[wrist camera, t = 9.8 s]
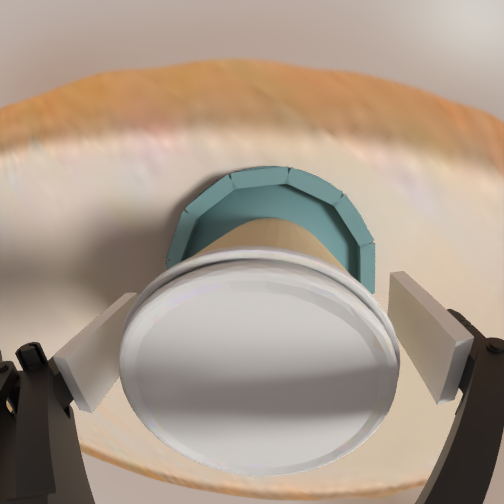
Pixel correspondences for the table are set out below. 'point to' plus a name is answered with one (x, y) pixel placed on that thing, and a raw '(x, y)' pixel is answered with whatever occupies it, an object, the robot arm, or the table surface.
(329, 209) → the saucer
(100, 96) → the table surface
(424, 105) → the table surface
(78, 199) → the table surface
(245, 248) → the coffee cup
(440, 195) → the table surface
